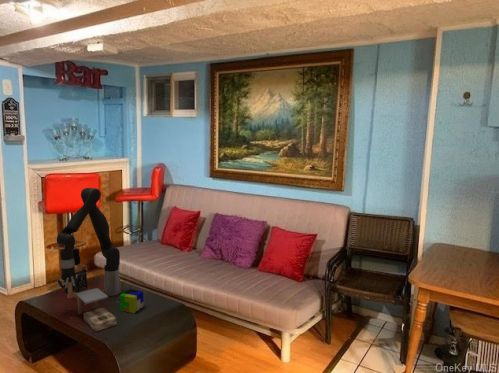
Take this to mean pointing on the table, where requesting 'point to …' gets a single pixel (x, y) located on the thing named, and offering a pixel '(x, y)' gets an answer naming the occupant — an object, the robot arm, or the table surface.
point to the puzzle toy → (131, 301)
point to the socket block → (100, 319)
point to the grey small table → (90, 298)
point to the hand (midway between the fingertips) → (69, 292)
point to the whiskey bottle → (81, 271)
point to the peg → (70, 290)
